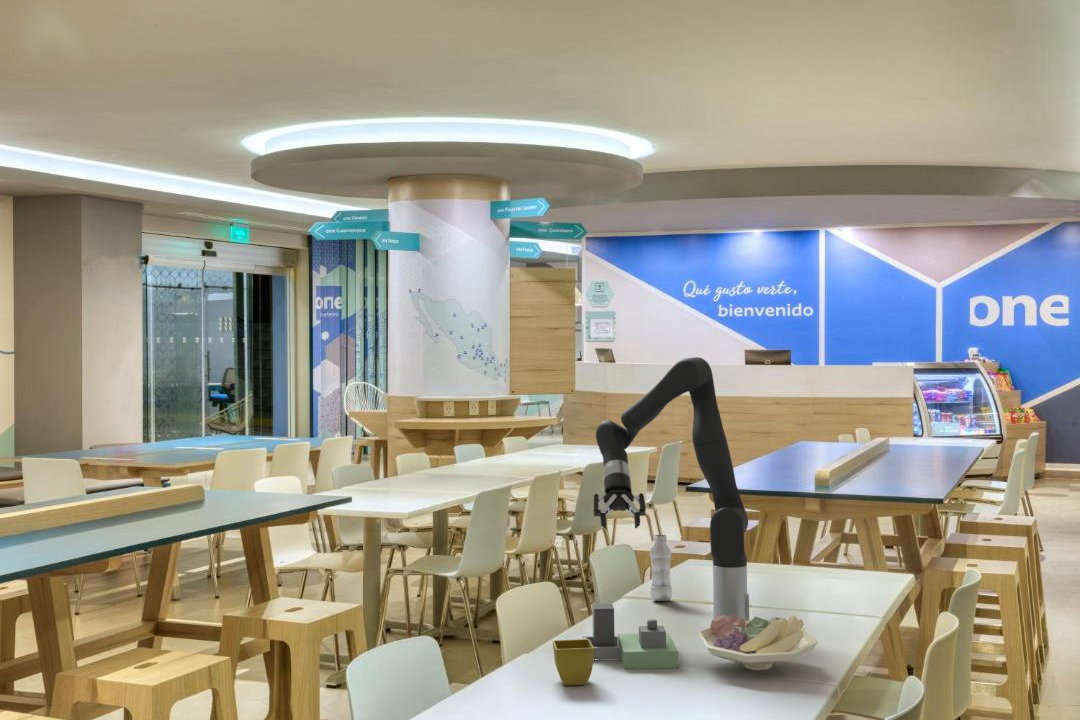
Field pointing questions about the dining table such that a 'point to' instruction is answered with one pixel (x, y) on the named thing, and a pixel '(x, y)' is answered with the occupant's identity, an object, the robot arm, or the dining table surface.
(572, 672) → the flower pot
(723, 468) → the robot arm
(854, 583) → the dining table surface
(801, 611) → the dining table surface
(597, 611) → the tall grey cuboid
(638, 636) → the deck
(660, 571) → the plastic bottle
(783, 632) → the dish with food
